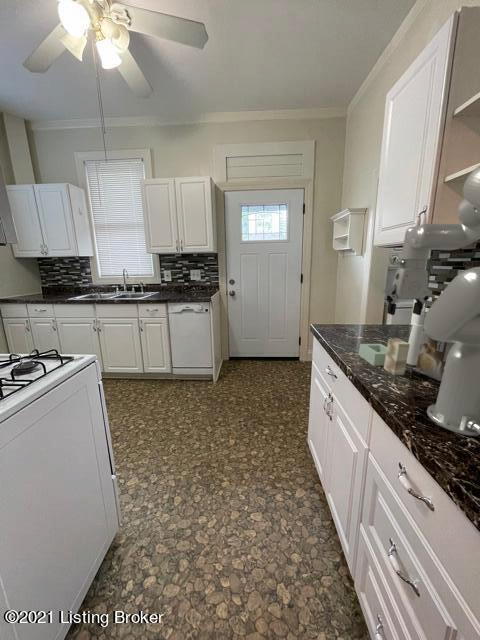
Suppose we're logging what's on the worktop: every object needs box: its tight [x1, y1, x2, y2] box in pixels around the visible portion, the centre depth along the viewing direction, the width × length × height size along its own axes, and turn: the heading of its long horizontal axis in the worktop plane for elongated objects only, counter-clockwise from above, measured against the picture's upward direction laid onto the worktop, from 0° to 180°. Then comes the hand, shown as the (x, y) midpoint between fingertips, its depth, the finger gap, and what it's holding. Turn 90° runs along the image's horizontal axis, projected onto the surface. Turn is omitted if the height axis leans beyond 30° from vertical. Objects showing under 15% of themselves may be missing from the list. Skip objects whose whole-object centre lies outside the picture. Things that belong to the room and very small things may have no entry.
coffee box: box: [415, 330, 455, 382], centre depth 96 cm, size 9×6×16 cm
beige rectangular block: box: [383, 338, 410, 376], centre depth 98 cm, size 6×4×12 cm, turn 5°
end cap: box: [358, 343, 387, 367], centre depth 110 cm, size 12×10×5 cm
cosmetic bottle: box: [406, 309, 426, 366], centre depth 106 cm, size 6×6×22 cm
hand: (403, 314), depth 94 cm, fingers open, 9 cm apart
